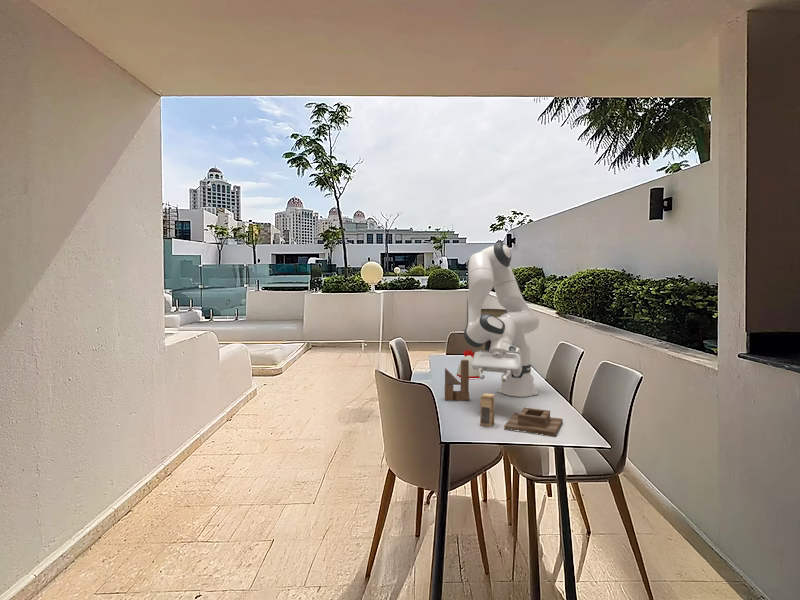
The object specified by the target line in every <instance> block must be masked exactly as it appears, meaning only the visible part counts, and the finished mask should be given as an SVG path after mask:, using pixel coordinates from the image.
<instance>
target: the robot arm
mask: <svg viewBox="0 0 800 600" xmlns="http://www.w3.org/2000/svg"><path fill="white" fill-rule="evenodd" d="M511 260H512V252H511V249H510V247H509V246H508V245H507V244H506V243H504V242H497V243H495V244H494V245H491V246H488V247H486V248H484V249H482V250H481V251H478V252H475V253H473V254H472V255H471V256H470V257H469V259H467V261H466V269H467V272H468V273H467V274H468V275H467V276H468V277H467V278H468V291H467V302H466V324H465V325H466V326H465V329H464V330H463V337H464V340H465V341H466V343H467V344H468V345H469V346H471V347H473V348H482V347H483V346H485V343H486V341H487V340H491V345H490V349H489V351H487V350H485V349H484V350H482V349H479V350H476V351H475V352H474V358H473V360H472V363H471V365H472V368H473V369H474V370H479V372H480V376H479V378H480V379H479V380H484V379H485V373H484V372H493V373H500V374H501V373H502V374H501V378H500V379H501V380H500V382H501V383H500V387H499V388H498V389H497V390H496V392H497V393H501V394H504V395H505V394H506V395H505V396H509V397H518V398H519V397H522V398H524V397H530V396H531V397H532V396H538V395H539V392H538V391H537V388H535V383H534V382H535V381H534V376H533V375H532V374H531V371H532V367H531V366H532V365H531V348H530V345H528V344H527V340H526V337H525V334H526V335H527V334H530V333H532V332H534V331H536V330H537V329H538V328H539V326H540V319H539V316H538V315H537V313H535V312H534V310H533V311H532V309H531V308H530V307H529V305H528V304H527V302H526V301H525V299H524V297H523V295H522V292H521V289H520V287H519V284H518V282H517V279H516V277H515V274H514V272H513V270H512V268H511V267H510V266H511ZM493 289H494V291H495V292H494V293H495V296H496V298H497V301H498V303H499V305H500V306H501V307H503V309H504V310H506V311H507V312H508V313H505V314H503V315H501V316H500V317H496V316H494V315H492V314H488V313H485V314H483V315H481V309H482V306H483V304H484V302H485V300H486V299H487V297H488V296H489V294H490V293H491V292H492V290H493ZM481 372H482V373H481Z"/></svg>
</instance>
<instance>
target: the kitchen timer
mask: <svg viewBox="0 0 800 600" xmlns="http://www.w3.org/2000/svg"><path fill="white" fill-rule="evenodd" d="M462 353H463V356H464V357H463V358H462V359H461V360H469V378H479V376H480V372H479V370H474V369H473V368H472V365H471V363H472V360H473V358H474V354H475V352H474V351H473V350H472V349H465V350H463V352H462ZM481 373H482V372H481ZM482 374H483V373H482ZM457 376H459V377H461V361H460V362H459V364H458V368H457V372H456V377H457Z"/></svg>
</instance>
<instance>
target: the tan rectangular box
mask: <svg viewBox="0 0 800 600" xmlns="http://www.w3.org/2000/svg"><path fill="white" fill-rule="evenodd" d="M495 399H496V396H495V394H494V393H487V392H486V393H483V394H482V395H480V410H479V411H480V414H479V415H480V423H479V425H480V426H483V425H486V426H485V427H490V426H491V425H492V424H493V423H494V424H495ZM494 424H493V425H494ZM493 425H492V426H493ZM492 426H491V427H492Z"/></svg>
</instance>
